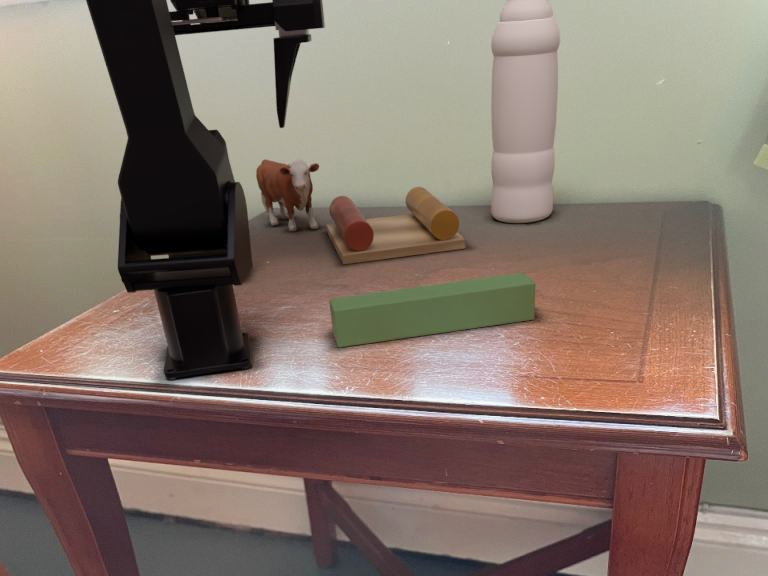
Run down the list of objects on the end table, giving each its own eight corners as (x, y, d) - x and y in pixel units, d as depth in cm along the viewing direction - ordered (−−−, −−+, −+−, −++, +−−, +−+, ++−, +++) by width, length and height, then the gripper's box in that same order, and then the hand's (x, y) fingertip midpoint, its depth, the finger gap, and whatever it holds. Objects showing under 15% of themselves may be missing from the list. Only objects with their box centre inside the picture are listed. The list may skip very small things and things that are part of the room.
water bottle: (509, 207, 93) (512, -45, 79) (562, 211, 90) (576, -52, 76) (480, 221, 89) (478, -44, 75) (535, 226, 85) (544, -52, 71)
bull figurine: (300, 240, 88) (289, 164, 83) (257, 221, 98) (246, 151, 93) (334, 233, 90) (325, 158, 85) (289, 214, 100) (279, 146, 95)
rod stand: (465, 248, 80) (465, 208, 78) (343, 264, 78) (338, 224, 76) (434, 219, 91) (433, 183, 89) (327, 232, 90) (323, 197, 88)
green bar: (534, 319, 61) (535, 282, 60) (337, 348, 60) (333, 310, 58) (522, 308, 64) (523, 272, 62) (333, 334, 62) (328, 298, 60)
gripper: (316, -82, 68) (335, 114, 77) (108, -63, 68) (150, 130, 77) (309, -99, 59) (332, 126, 67) (69, -76, 59) (122, 145, 67)
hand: (232, 131), depth 70 cm, fingers open, 9 cm apart
